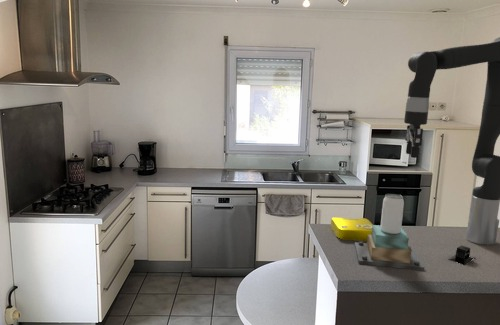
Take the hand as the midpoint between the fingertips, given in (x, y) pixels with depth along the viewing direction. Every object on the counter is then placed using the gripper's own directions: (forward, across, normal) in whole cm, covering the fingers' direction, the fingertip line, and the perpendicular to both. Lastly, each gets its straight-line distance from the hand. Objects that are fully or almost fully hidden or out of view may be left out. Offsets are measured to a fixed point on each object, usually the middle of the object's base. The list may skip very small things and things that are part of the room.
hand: (411, 155), depth 148 cm
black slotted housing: (+33, -13, -17) cm, 39 cm away
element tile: (+33, +2, +18) cm, 37 cm away
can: (+23, -18, +8) cm, 30 cm away
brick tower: (+32, -18, +8) cm, 38 cm away
